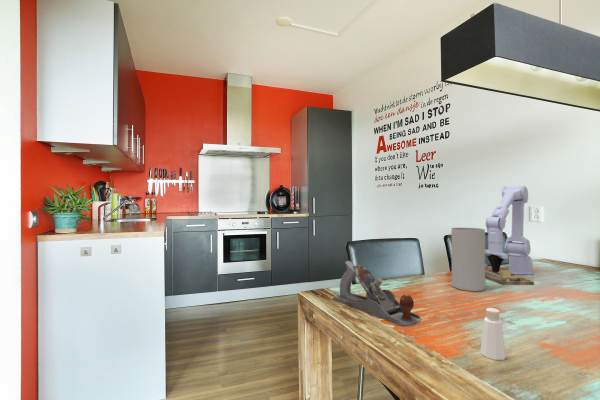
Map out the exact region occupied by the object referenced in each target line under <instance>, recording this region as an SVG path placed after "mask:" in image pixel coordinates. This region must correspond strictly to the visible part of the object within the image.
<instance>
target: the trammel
mask: <svg viewBox="0 0 600 400" xmlns="http://www.w3.org/2000/svg"><path fill="white" fill-rule="evenodd" d="M489 271H492V267H488V263H485V273H486V274H488V275H491V276H493V277H496V278H498V279H501V280H503V281H506V282H509V279H508V278H502V277H500V275H497V274H495V273H492V272H489Z"/></svg>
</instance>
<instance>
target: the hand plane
mask: <svg viewBox="0 0 600 400" xmlns="http://www.w3.org/2000/svg"><path fill="white" fill-rule="evenodd" d="M345 265H346V271H345V272H344V273H343V275H342V277H341V279H340V282H339V296H333V297H332V299H331V300H332V301H334V300H335V301H334V302H337V303H339V302H340V304H343V305H345V306H347V307H350V308H353V309H356V310H357V311H361V312H362V313H363V312H364V313H366V314H369V315H371V316H374V317H375V318H378V319H380V320H381V319H382V320H384V321H386V322H389V323H392V324H395V325H398V326H400V327H402V328H405V327H411V326H414V325H415V326H416V325H417V324H418V323H420V322H421V321H422V318H421V315H419V314H417V313H415V312H412V309H414V305H415V302H414V298H412V296H411V295H409V294H403V295H401V296H400V299H399V301H398V300H397V299H396V298H395V297H396V296H395V294H394V293H393V292H392V291H391V290H389V289H382V287H381V285H382V283H383V282H384V280H383V279H382V278H381V277H378V278H376V279H375V278H374V276H373V274H372V273H371V271H370V270H368V268H366V266H365V265H364V264H363V263H362V264H358V265H355V264H354V263H353V262H352V261H351V260H346V261H345ZM355 278H357V280H358V281H359V283H360V285H361V287H362V288H363V290H364V291H365V296H364V295H360V294H356V293H354V292H352V290H351V289H352V283H353V281H354V280H355Z"/></svg>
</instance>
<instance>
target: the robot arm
mask: <svg viewBox="0 0 600 400" xmlns="http://www.w3.org/2000/svg"><path fill="white" fill-rule="evenodd" d="M501 197H502V199H501V202H500V204H499V205H496V207H495V208H494V210H493V211H492V214H491V215H490V216H488V217H487V218H486V220H485V226H486V227H485V228H486V232H487V237H488V239H487V241H488V245H487V246H488V247H487V249H485V255H488V256H486V258H487V260H488V262H489V263H490V266H491V267H490V268H492V270H491V271H493V272H499V271H500V268H501V266H502V263H503V261H504V260H508V269H506V270H507V271H510V272H511V274H512V275H515V276H518V275H534V274H535V273H534V272H533V259H532V257H531V256H530V254H531V242H530V240H529V239H528V238H526V236H524V219H525V213H524V212H525V204H526V203H527V204H528V201H529V190H528V188H527V187H526V186H525V185H522V186H504V187H502V189H501ZM510 206H512V208H511V211H512V212H511V235H510V236H509V237H507V238H506V239H505V244H504V242H503V240H504V239H503V235H504V231H503V230H504V229H505V228H506V222H507V216H508V215H509V213H510V209H509V208H510ZM504 251H505V252H504Z"/></svg>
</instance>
